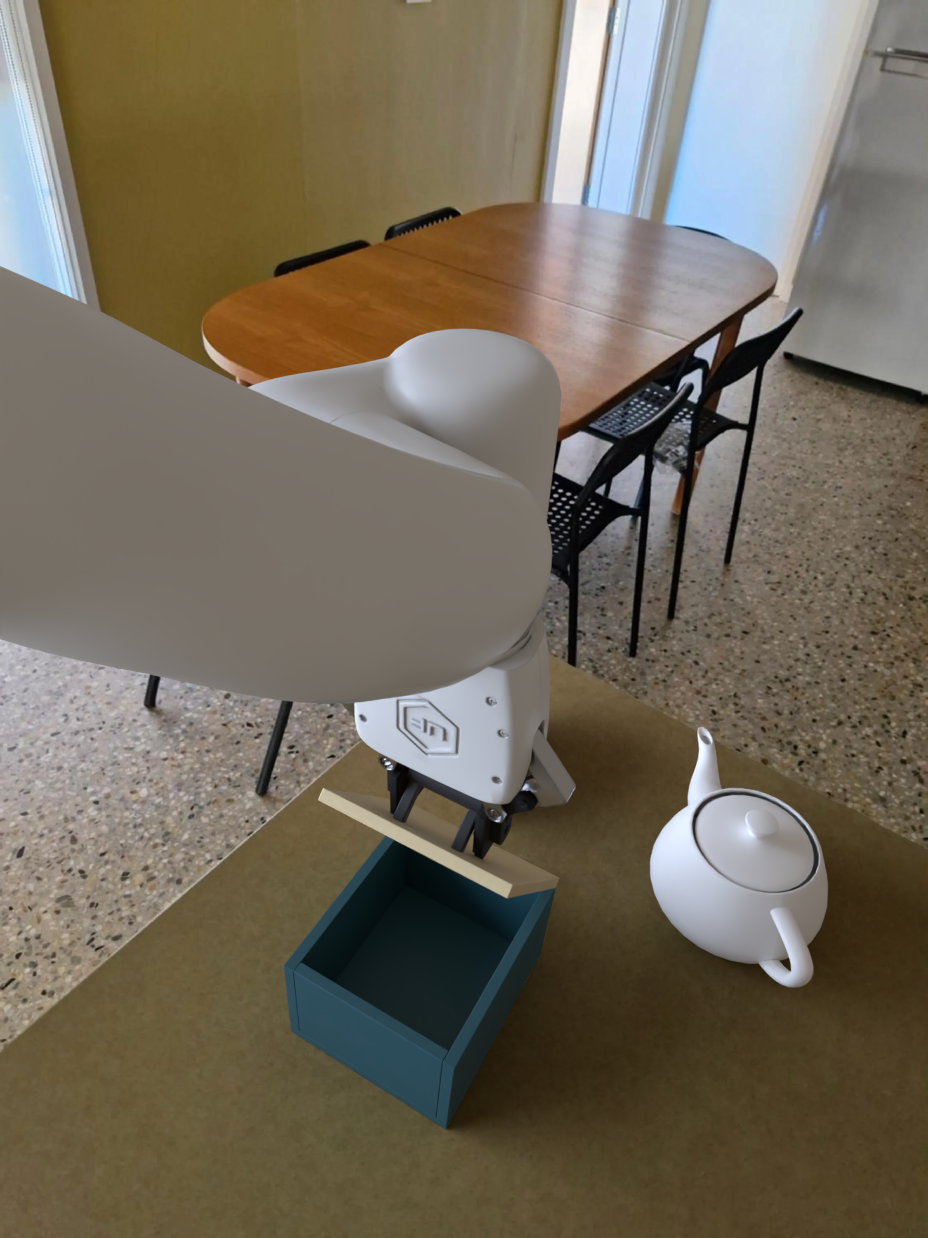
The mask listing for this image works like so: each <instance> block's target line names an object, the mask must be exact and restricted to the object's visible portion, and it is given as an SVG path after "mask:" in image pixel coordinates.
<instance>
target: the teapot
mask: <svg viewBox="0 0 928 1238" xmlns="http://www.w3.org/2000/svg"><path fill="white" fill-rule="evenodd" d="M696 732H697V742H698V757H697V760H696V765H695V768H694V771H693V773H692V776H691V779H690V782H689V786H688V791H687V806H685V807H683V808H682V809H681V810H680V811H678V812H677V813H676V814H675V815H673V817H671V819H670V820H669V821H668V822H667V823H666V824H665V825H664V826H663V827H662V829H661V830H660V833H659V834H658V835H657V838H656V840H655V842H654V844H653V847H652V851H651V855H650V859H649V876H650V881H651V882H650V883H651V885H652V890H653V893H654V896H655V898H656V900H657V902H658V905H659V907H660V909H661V911H662V913H664V915H665V917H666V918H667V919H668V920H669V922H670V923H671V925H673V927H674V928H676V930H678V931H679V933H680V934H682V936H683V937H684V938H686V939H687V940H689V941H690V942H691V943H692V944H694V945H695V946H697V947H698V948H700V949H702V950H703V951H706V952H707V953H709V954H711V955H713V956H716V957H719V958H722V959H725V960H727V961H731V962H736V963H741V964H746V965H755V964H756V965H759V966H760V967H761V968H762V970H764V972H765V973H766V974H767V975H768V976H769V977H770V978H771V979H773V981H775V982H776V983H778V984H780V985H781V986H784V987H786V988H801V987H803V986H806V985H807V984H808V983H809V982H810V981H811V980H812V978H813V975H814V963H813V959H812V956H811V953H810V950H809V947H808V945H809V944H811V943H812V942H813V941H814V939H815V937H816V936H817V934H819V931H820V930H821V928H822V925H823V922H824V919H825V916H826V913H827V909H828V895H829V883H828V875H827V874H828V873H827V869H826V865H825V864H826V862H825V858H824V854H823V850H822V846H821V843H820V841H819V839H818V837H817V835H816V833H815V831H814V830H813V828H812V827H811V825H810V824H809V823H808V821H806V819H805V818H804V817H803V816H802V815H801V814H800V813H799V812H798V811H796V810H795V809H794V808H793V807H792V806H790V805H789V804H787V803H786V802H784V801H783V800H781V799H779V798H777V797H775V796H773V795H770V794H768V793H765V792H762V791H760V790H756V789H751V788H750V789H749V788H745V787H744V788H743V787H728V788H722V784H721V780H720V773H719V766H718V758H717V751H716V750H717V749H716V745H715V744H716V743H715V741H714V738H713V736H712V734H711V732H710V731H709V730H708V729H707V728H706V727H704V726H699V727H698V728H697V731H696ZM787 959H789V962H790V970H789V969H788V968H787V967H786V966H785V965H783V963H782V962H781V961H784V960H787Z"/></svg>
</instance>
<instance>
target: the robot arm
mask: <svg viewBox="0 0 928 1238" xmlns="http://www.w3.org/2000/svg"><path fill="white" fill-rule="evenodd" d="M561 405H562V390H561V383H560V378H559V375H558V372H557V371H556V368H555V367H554V365H553V364H552V362H551V360H550V359H549V358H548V356H547V355H546V354H544V353H543V352H542V351H541V350H539V349H538V348H537V347H536V346H534V345H532V344H531V343H529V342H527V341H526V340H524V339H521V338H520V337H516V336H515V335H510V334H507V333H503V332H498V331H495V330H494V331H493V330H487V329H478V328H448V329H441V330H435V331H431V332H427V333H424V334H423V333H422V334H420V335H417V336H415V337H413V338H411V339H409V340H407V341H405V342H404V343H403V344H401V345H400V346H398V347H397V348H395V349H394V350H393V351H392V353H391V354H390V355H389V356H387V357H384V358H379V359H374V360H370V361H366V362H361V363H356V364H349V365H345V366H339V367H333V368H327V369H320V370H314V371H306V372H301V373H294V374H291V375H285V376H280V377H275V378H271V379H268V380H264V381H261V382H258V383H255V384H252V385H250V386H245V385H243V384H241V383H239V382H236V381H235V380H232V379H230V378H229V377H226V376H225V375H223V374H220V373H218V372H216V371H214V370H213V369H210V368H208V367H206V366H204V365H202V364H200V363H198V362H196V361H195V360H192V359H191V358H189V357H188V356H185V355H183V354H182V353H180V352H177V350H174V349H172V348H171V347H169V346H167V345H165V344H164V343H161V342H159V341H157V340H156V339H154V338H152V337H151V336H148V335H147V334H145V333H143V332H141V331H139V330H137V329H135V328H134V327H132V326H129V325H128V324H126V323H125V322H123V321H120V320H119V319H118V318H117V319H116V318H115V317H112V316H111V315H109V314H107V313H105V312H103V311H101V310H99V309H96V308H95V307H92V306H91V305H89V304H88V303H87V304H86V303H84V302H83V301H81V300H79V299H75V298H74V297H71V296H69V295H67V294H65V293H63V292H60V291H58V290H56V289H53V288H51V287H49V286H47V285H45V284H43V283H40V282H38V281H36V280H33V279H31V278H29V277H27V276H24V275H22V274H19V273H18V272H15V271H13V270H10V269H8V268H5V267H4V266H1V265H0V640H2V641H5V642H7V643H11V644H15V645H18V646H22V647H25V648H27V649H32V650H35V651H40V652H43V653H46V654H50V655H54V656H57V657H58V656H59V657H63V658H68V659H72V660H75V661H81V662H85V663H90V664H95V665H99V666H100V665H101V666H105V667H110V668H114V669H120V670H125V671H128V672H129V671H130V672H135V673H140V674H145V675H146V674H147V675H151V676H156V677H159V678H164V679H168V680H173V681H177V682H182V683H186V684H192V685H197V686H200V687H205V688H210V689H215V690H220V691H224V692H229V693H233V694H240V695H245V696H251V697H256V698H263V699H268V700H277V701H284V702H293V703H301V704H318V705H319V704H320V705H321V704H323V705H336V704H337V705H338V704H339V705H340V704H341V705H342V707H344V708H345V709H346V711H347V712H348V713H349V714H350V715H351V716H352V717H353V718H354V723H355V728H356V733H357V734H358V737H359V738H360V740H362V741H363V743H365V744H366V745H367V746H368V747H369V748H371V749H372V750H374V751H375V752H378V753H379V754H378V756H377V762H378V764H379V766H381V767H382V768H383V769H384V770H386V778H387V779H386V781H387V783H386V784H387V788H386V789H387V791H388V792H389V799H390V813H391V814H393V815H394V813H395V811H396V809H397V807H398V805H399V802H400V800H401V798H402V796H403V794H404V791H405V789H406V787H407V785H408V783H409V781H410V780H409V779H408V771H409V768H411V769H413V770H415V771H417V772H419V773H421V774H424V775H426V776H428V777H430V778H432V779H434V780H436V781H438V782H440V783H443V784H445V785H447V786H449V787H451V788H453V789H456V790H458V791H460V792H462V793H464V794H467V795H469V796H471V797H473V798H476V799H478V800H481V801H482V804H483V805H482V807H481V808H480V810H479V811H478V813H477V815H476V817H475V825H474V830H473V835H474V837H473V849H472V852H473V853H474V856H476V857H478V858H480V859H483V858H484V857H485V855H486V854H487V852H488V851H489V849H490V848H491V846H492V844H493V845H494V844H496V845H498V846H502V845H503V843H504V842H505V841H506V839H507V837H508V835H509V833H510V831H511V828H512V826H513V825H512V824H513V817H514V815H517V814H521V813H528V812H532V811H533V810H534V809H535V808H536V807H541V808H551V807H563V806H566V805H567V804H568V802H569V800H570V798H571V797H572V795H573V793H574V791H575V790H576V787H577V786H576V783H575V781H574V780H573V778H572V777H571V775H570V773H569V772H568V771H567V769H566V767H565V766H564V764H563V762H562V761H561V759H560V758H559V756H558V755H557V753H556V752H555V750H554V749H553V747H552V746H551V744H550V742H549V741H548V740H547V739H548V733H549V723H550V722H549V721H550V710H551V709H550V708H551V665H550V653H549V644H548V637H547V632H546V627H545V622H544V620H543V619H542V617H540V616H538V615H537V613H538V612H539V610H540V607H541V606H542V603H543V600H544V599H545V595H546V593H547V589H548V586H549V582H550V578H551V577H550V576H551V573H552V572H551V571H552V561H553V560H552V559H553V544H552V535H551V530H550V527H549V524H548V521H547V520H548V514H549V507H550V506H549V505H550V497H551V490H552V481H553V473H554V464H555V458H556V457H555V456H556V449H557V441H558V433H559V426H560V417H561ZM528 773H529V775H528ZM424 789H425V788H424V787H422V788H421V790H420V792H419V794H418V796H419V795H420V794H421V793H422V792H423V790H424ZM418 796H417V798H418Z"/></svg>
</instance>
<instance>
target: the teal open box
mask: <svg viewBox="0 0 928 1238" xmlns="http://www.w3.org/2000/svg"><path fill="white" fill-rule="evenodd" d="M556 890H557V886H556V887H555V888H553V889H549V890H544V891H539V892H535V893H530V894H526V895H521V896H516V897H512V898H505V897H503V896H501V895H499V894H497V893H495V892H494V891H492V890H490V889H488V888H486V887H484V886H482V885H480V884H478V883H476V882H474V881H472V880H470V879H469V878H467V877H465V876H463V875H461V874H459V873H457V872H455V871H453V870H451V869H449V868H447V867H445V866H444V865H442V864H440V863H438V862H436V861H434V860H432V859H430V858H428V857H426V856H424V855H422V854H420V853H419V852H417V851H415V850H413V849H411V848H409V847H407V846H405V845H403V844H401V843H399V842H397V841H395V840H394V839H392V838H390V837H388V836H386V835H384V837H383V838H382V839H381V840H380V841H379V843H378V844H377V846H375V848H374V849H373V851H372V852H371V853H370V855H369V856H368V857H367V858H366V860H365V861H364V862H363V864H362V865H361V866H360V868H358V870H357V871H356V872H355V874H354V875H353V876H352V878H351V879H350V880H349V881H348V882H347V884H346V885H345V886H344V887H343V889H342V890H341V892H340V893H339V894H338V896H337V897H336V898H335V899H334V901H333V902H331V904H330V906H329V907H328V908H327V910H326V911H324V913H323V914H322V916H321V917H320V918H319V920H318V921H317V922H316V923H315V925H314V926H313V927H312V929H311V930H310V931H309V932H308V933H307V935H306V936H305V937H304V939H303V940H302V941H301V943H300V944H299V945H298V946H297V948H296V949H295V950H294V951H293V953H292V954H291V955H290V956H289V958H288V959H287V960H286V962H284V964H283V973H284V982H285V990H286V999H287V1006H288V1016H289V1024H290V1032H292V1033H293V1034H295V1035H296V1036H298V1037H300V1038H301V1039H302V1040H304V1041H306V1042H307V1043H309V1044H311V1045H312V1046H314V1047H315V1048H317V1049H319V1050H320V1051H321V1052H323V1053H324V1054H326V1055H328V1056H330V1057H331V1058H332V1059H334V1060H335V1061H337V1062H339V1063H340V1064H342V1065H343V1066H345V1067H347V1068H348V1069H349V1070H351V1071H353V1072H355V1073H356V1074H358V1075H359V1076H361V1077H362V1078H364V1080H365V1079H366V1080H367V1081H369V1082H370V1083H372V1084H373V1085H375V1086H376V1087H377V1088H379V1089H381V1090H383V1091H384V1092H386V1093H387V1094H389V1095H390V1096H391V1097H394V1098H395V1099H396V1100H399V1101H400V1102H401V1103H403V1104H405V1105H406V1106H408V1107H409V1108H411V1109H413V1110H414V1111H416V1112H417V1113H419V1114H420V1115H422V1116H423V1117H425V1118H427V1119H428V1120H430V1121H431V1122H433V1123H435V1124H436V1125H437V1126H439V1127H441V1128H442V1129H444V1130H447V1129H448V1127H449V1125H450V1123H451V1122H452V1120H453V1119H454V1116H455V1114H456V1112H457V1110H458V1109H459V1107H460V1105H461V1103H462V1101H463V1099H464V1098H465V1096H466V1094H467V1092H468V1090H469V1088H470V1087H471V1085H472V1083H473V1081H474V1079H475V1077H476V1075H477V1073H478V1072H479V1070H480V1068H481V1067H482V1064H483V1062H484V1060H485V1059H486V1057H487V1055H488V1053H489V1051H490V1049H491V1048H492V1046H493V1043H494V1041H496V1038H497V1036H498V1034H499V1032H500V1031H501V1029H502V1027H503V1025H504V1023H505V1022H506V1019H508V1016H509V1014H510V1012H511V1011H512V1008H513V1007H514V1005H515V1003H516V1001H517V999H518V997H519V995H520V994H521V992H522V991H523V988H524V986H525V984H526V982H527V981H528V979H529V977H530V975H531V973H532V971H533V969H534V967H535V966H536V964H537V962H538V960H539V958H540V956H541V955H542V951H543V945H544V942H545V938H546V933H547V928H548V924H549V920H550V916H551V913H552V912H551V911H552V907H553V903H554V898H555V894H556Z"/></svg>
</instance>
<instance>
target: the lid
mask: <svg viewBox="0 0 928 1238" xmlns="http://www.w3.org/2000/svg"><path fill="white" fill-rule="evenodd" d="M408 779H409V780H410V781H409V783H408V785H407V787H406V789H405V791H404V794H403V796H402V798H401V800H400V802H399V805H398V807H397V809H396V811H395V813H394V815H393V814H391V813H390V798H386V797H381V796H374V795H368V794H363V793H355V792H351V791H345V790H338V789H334V788H326V787H322V790H321V792H320V794H319V797H318V798H317V800H318V802H320V803H322V804H324V805H326V806H328V807H330V808H332V809H333V810H336V811H337V812H340V813H342V814H343V815H345V816H347V817H349V818H351V819H353V820H354V821H357V822H359V823H361V824H362V825H364V826H366V827H369V828H370V829H372V830H374V831H376V832H378V833H380V834H382V835H383V836H388V837H390V838H392V839H394V840H395V841H397V842H399V843H401V844H403V845H405V846H407V847H409V848H411V849H413V850H415V851H417V852H419V853H420V854H422V855H424V856H426V857H428V858H430V859H432V860H434V861H436V862H438V863H440V864H442V865H444V866H445V867H447V868H449V869H451V870H453V871H455V872H457V873H459V874H461V875H463V876H465V877H467V878H469V879H470V880H472V881H474V882H476V883H478V884H480V885H482V886H484V887H486V888H488V889H490V890H492V891H494V892H495V893H497V894H499V895H501V896H503V897H505V898H512V897H516V896H521V895H526V894H530V893H535V892H539V891H544V890H549V889H553V888H555V887H556V888H557V885H558V882H559V881H560V877H559V876H557V875H555V874H553V873H551V872H548V871H547V870H545V869H542V868H541V867H539V866H536V865H534V864H532V863H531V862H528V861H526V860H525V859H523V858H521V857H519V856H517V855H515V854H512V853H511V852H509V851H507V850H504V849H502V848H501V847H500V846H497V845H494V843H493V844H492V846H491V848H490V849H489V851H488V852H487V854H486V855H485V857H484V858H483V859H480V858H478V857H476V856H474V853H473V852H472V849H473V837H474V825H475V817H476V815H477V813H478V811H479V810H480V808H481V807H482V805H483V804H482V801H481V800H478V799H476V798H473V797H471V796H469V795H467V794H464V793H462V792H460V791H458V790H456V789H453V788H451V787H449V786H447V785H445V784H443V783H440V782H438V781H436V780H434V779H432V778H430V777H428V776H426V775H424V774H421V773H419V772H417V771H415V770H413V769H411V768H409V771H408ZM422 787H424V789H426V790H428V791H431V792H433V793H434V794H437V795H439V796H440V797H443V798H445V799H447V800H449V801H451V802H453V803H454V804H457V805H459V806H460V807H463V808H465V809H466V812H465V814H464V816H463V819H462V820H461V823H460V825H459V827H458V826H457V825H455V824H452V823H451V822H449V821H447V820H444V819H442V818H440V817H438V816H437V815H434V814H433V813H431V812H430V811H429V812H428V811H427V810H425V809H422V808H420V807H418V806H416V805H415V803H416V801H417V799H418V797H417V796H419V795H420V794H419V792H420V790H421V788H422ZM418 794H419V795H418Z"/></svg>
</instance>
